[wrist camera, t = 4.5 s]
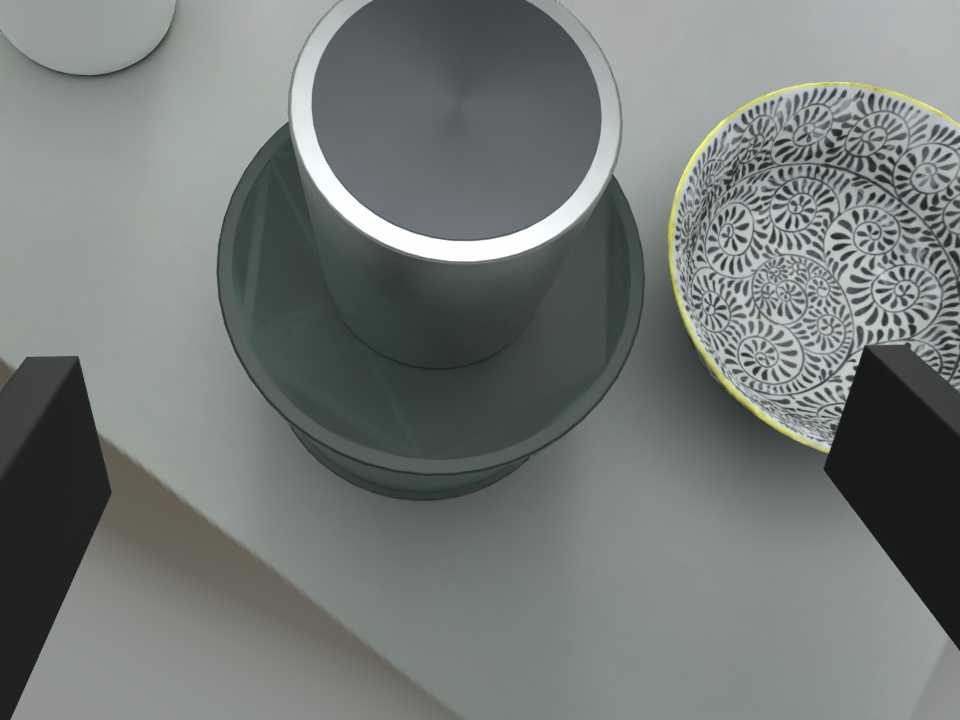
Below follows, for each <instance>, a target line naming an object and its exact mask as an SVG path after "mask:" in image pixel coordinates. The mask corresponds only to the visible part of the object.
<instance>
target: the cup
mask: <svg viewBox="0 0 960 720" xmlns="http://www.w3.org/2000/svg"><path fill="white" fill-rule="evenodd" d="M175 2H176V0H0V30H1V31H2V32H3V33H4V35H5V36H6V37H7V38H8V40H9V41H10V42H11V43H12V44H13V45H14V46H15V47H16V48H17V49H18V50H19V51H21V52H22V53H23V54H24V55H26V56H27V57H29V58H30V59H32V60H33V61H35V62H37V63H39V64H41V65H43V66H45V67H48V68H50V69H53V70H56V71H59V72H64V73H69V74H76V75H98V74H105V73H111V72H114V71H118V70H121V69H123V68H126V67H128V66H130V65H132V64H134V63H136V62H138V61H139V60H141V59H142V58H144V57H145V56H147V55H148V54H149V53H150V52H151V51H152V50H153V49H154V48H155V47H156V46H157V45H158V44H159V43H160V41H161V40H162V39H163V37H164V36H165V34H166V33H167V31H168V29H169V27H170V24H171V21H172V19H173V14H174V10H175Z"/></svg>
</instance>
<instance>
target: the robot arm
mask: <svg viewBox="0 0 960 720" xmlns="http://www.w3.org/2000/svg"><path fill="white" fill-rule="evenodd" d="M824 471H825V472H826V474H827V475H828V476H829V478H830V479H831V480H832V482H833V483H834V484H835V486H836V487H837V488H838V490H839V491H840V492H841V494H842V495H843V496H844V497H845V499H846V500H847V501H848V503H849V504H850V505H851V507H852V508H853V509H854V511H855V512H856V513H857V515H858V516H859V517H860V519H861V520H862V521H863V523H864V524H865V525H866V527H867V528H868V529H869V531H870V532H871V533H872V535H873V536H874V537H875V539H876V540H877V541H878V543H879V544H880V545H881V547H882V548H883V549H884V551H885V552H886V553H887V555H888V556H889V557H890V559H891V560H892V561H893V563H894V564H895V565H896V567H897V568H898V569H899V571H900V572H901V573H902V575H903V576H904V577H905V579H906V580H907V581H908V583H909V584H910V585H911V586H912V588H913V589H914V590H915V592H916V593H917V594H918V596H919V597H920V598H921V600H922V601H923V602H924V604H925V605H926V606H927V608H928V609H929V610H930V612H931V613H932V614H933V616H934V617H935V618H936V620H937V621H938V622H939V624H940V625H941V626H942V628H943V629H944V630H945V632H946V633H947V634H948V636H949V637H950V638H951V640H952V641H953V642H954V644H955V645H956V646H957V648H958V649H959V650H960V392H959V391H958V390H957V389H955V388H954V387H953V386H952V385H951V384H950V383H949V382H948V381H946V380H945V379H944V378H943V377H942V376H941V375H940V374H938V373H937V372H936V371H935V370H934V369H933V368H932V367H931V366H929V365H928V364H927V363H926V362H925V361H924V360H923V359H921V358H920V357H919V356H918V355H917V354H916V353H915V352H913V351H912V350H911V349H910V348H909V347H908V346H907V345H906V344H904V345H865V346H864V349H863V352H862V355H861V358H860V361H859V364H858V367H857V370H856V373H855V376H854V379H853V382H852V385H851V388H850V391H849V394H848V397H847V400H846V403H845V406H844V409H843V412H842V415H841V418H840V421H839V424H838V427H837V430H836V433H835V436H834V439H833V442H832V445H831V448H830V451H829V454H828V457H827V460H826V463H825V467H824ZM110 495H111V488H110V484H109V480H108V475H107V471H106V467H105V463H104V459H103V455H102V452H101V447H100V443H99V439H98V435H97V430H96V426H95V422H94V418H93V414H92V410H91V406H90V402H89V398H88V394H87V390H86V386H85V382H84V377H83V373H82V369H81V365H80V361H79V357H78V356H58V357H26V359H25V360H24V361H23V363H22V364H21V365H20V366H19V368H18V369H17V370H16V372H15V373H14V374H13V376H12V377H11V378H10V380H9V381H8V382H7V384H6V385H5V386H4V388H3V389H2V390H1V392H0V720H10V719H11V717H12V715H13V713H14V710H15V708H16V706H17V704H18V702H19V699H20V697H21V695H22V693H23V690H24V688H25V686H26V684H27V681H28V679H29V677H30V674H31V672H32V670H33V668H34V666H35V663H36V661H37V659H38V657H39V654H40V652H41V650H42V648H43V645H44V643H45V641H46V639H47V636H48V634H49V632H50V630H51V628H52V625H53V623H54V621H55V618H56V616H57V614H58V612H59V610H60V607H61V605H62V603H63V600H64V598H65V596H66V594H67V592H68V590H69V587H70V585H71V583H72V581H73V578H74V576H75V573H76V571H77V569H78V567H79V565H80V563H81V560H82V558H83V556H84V554H85V551H86V549H87V547H88V545H89V542H90V540H91V538H92V536H93V533H94V531H95V529H96V527H97V525H98V522H99V520H100V518H101V515H102V513H103V511H104V509H105V507H106V504H107V502H108V500H109V497H110Z"/></svg>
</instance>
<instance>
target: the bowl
mask: <svg viewBox="0 0 960 720" xmlns="http://www.w3.org/2000/svg"><path fill="white" fill-rule="evenodd" d="M668 262H669V271H670V277H671V282H672V287H673V291H674V295H675V299H676V302H677V306H678V309H679V311H680V314H681V318H682V322H683V324H684V327H685V330H686V333H687V335H688V338H689V340H690V342H691V344H692V346H693V348H694V350H695V351H696V353H697V355H698V357H699V358H700V360H701V361H702V363H703V365H704V366H705V367H706V369H707V370H708V371H709V373H710V374H711V375H712V376H713V378H714V379H715V380H716V381H717V383H718V384H719V385H720V386H721V387H722V388H723V389H724V390H725V391H726V392H727V393H728V394H730V395H731V396H732V397H733V398H734V399H735V400H736V401H737V402H738V403H740V404H741V405H742V406H744V407H745V408H746V409H748V410H749V411H751V412H752V413H753V414H754V415H756V416H757V417H758V418H760V419H761V420H762V421H764V422H765V423H767V424H768V425H770V426H771V427H772V428H774V429H775V430H777V431H779V432H781V433H782V434H784V435H786V436H788V437H789V438H791V439H793V440H795V441H797V442H799V443H802V444H804V445H807V446H809V447H811V448H814V449H816V450H819V451H822V452H825V453H828V454H829V451H830V448H831V445H832V442H833V439H834V436H835V433H836V430H837V427H838V424H839V421H840V418H841V415H842V412H843V409H844V406H845V403H846V400H847V397H848V394H849V391H850V388H851V385H852V382H853V379H854V376H855V373H856V370H857V367H858V364H859V361H860V358H861V355H862V352H863V349H864V346H865V345H904V344H906V345H907V346H908V347H909V348H910V349H911V350H912V351H913V352H915V353H916V354H917V355H918V356H919V357H920V358H921V359H923V360H924V361H925V362H926V363H927V364H928V365H929V366H931V367H932V368H933V369H934V370H935V371H936V372H937V373H938V374H940V375H941V376H942V377H943V378H944V379H945V380H946V381H948V382H949V383H950V384H951V385H952V386H953V387H954V388H955V389H957V390H958V391H959V392H960V124H958V123H957V122H955V121H954V120H952V119H951V118H950V117H948V116H947V115H945V114H943V113H942V112H940V111H938V110H936V109H935V108H933V107H930V106H928V105H926V104H924V103H922V102H920V101H918V100H915V99H913V98H910V97H908V96H905V95H903V94H900V93H897V92H894V91H891V90H887V89H884V88H880V87H875V86H870V85H865V84H857V83H847V82H831V81H830V82H822V83H809V84H801V85H797V86H792V87H787V88H784V89H781V90H778V91H774V92H772V93H769V94H766V95H764V96H761V97H759V98H757V99H755V100H753V101H751V102H749V103H747V104H746V105H744V106H742V107H741V108H739V109H738V110H736V111H735V112H733V113H732V114H731V115H729V116H728V117H727V118H725V119H724V120H723V121H722V122H721V123H720V124H719V125H717V126H716V127H715V129H714V130H713V131H712V132H711V133H710V134H709V135H708V136H707V137H706V138H705V140H704V141H703V142H702V143H701V145H700V146H699V147H698V149H697V150H696V152H695V153H694V154H693V156H692V157H691V159H690V161H689V163H688V165H687V166H686V168H685V170H684V172H683V175H682V177H681V179H680V182H679V184H678V187H677V190H676V193H675V196H674V199H673V203H672V208H671V212H670V219H669V227H668Z"/></svg>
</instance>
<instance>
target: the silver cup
mask: <svg viewBox="0 0 960 720" xmlns="http://www.w3.org/2000/svg"><path fill="white" fill-rule="evenodd" d="M288 119H289V128H290V134H291V139H292V143H293V147H294V151H295V156H296V160H297V164H298V168H299V172H300V177H301V181H302V185H303V189H304V193H305V198H306V202H307V206H308V210H309V215H310V219H311V223H312V227H313V231H314V236H315V240H316V244H317V248H318V252H319V257H320V261H321V265H322V269H323V273H324V278H325V282H326V285H327V289H328V293H329V295H330V298H331V300H332V302H333V305H334V307H335V309H336V310H337V312H338V314H339V315H340V317H341V319H342V320H343V321H344V322H345V324H346V325H347V326H348V328H349V329H350V330H351V331H352V332H353V333H354V334H355V335H356V336H357V337H358V338H359V339H360V340H361V341H363V342H364V343H365V344H367V345H368V346H369V347H371V348H372V349H373V350H375V351H377V352H379V353H381V354H382V355H384V356H386V357H388V358H391V359H393V360H396V361H398V362H401V363H404V364H408V365H412V366H416V367H424V368H453V367H461V366H465V365H469V364H472V363H476V362H478V361H481V360H483V359H486V358H488V357H490V356H492V355H494V354H495V353H497V352H499V351H501V350H502V349H504V348H505V347H506V346H508V345H509V344H510V343H511V342H513V341H514V340H515V339H516V338H517V337H518V336H519V335H520V334H521V333H522V332H523V331H524V329H525V328H526V327H527V325H528V324H529V323H530V321H531V320H532V318H533V317H534V315H535V313H536V311H537V310H538V308H539V306H540V304H541V302H542V301H543V299H544V297H545V295H546V294H547V292H548V290H549V288H550V286H551V285H552V283H553V281H554V279H555V278H556V276H557V274H558V272H559V271H560V269H561V267H562V265H563V263H564V262H565V260H566V258H567V256H568V255H569V253H570V251H571V249H572V247H573V246H574V244H575V242H576V240H577V239H578V237H579V235H580V233H581V231H582V230H583V228H584V226H585V224H586V223H587V221H588V219H589V217H590V216H591V214H592V212H593V210H594V208H595V207H596V205H597V203H598V201H599V200H600V198H601V196H602V194H603V192H604V191H605V189H606V187H607V185H608V183H609V182H610V180H611V177H612V174H613V172H614V169H615V166H616V164H617V161H618V156H619V151H620V147H621V141H622V126H623V122H622V109H621V102H620V97H619V92H618V88H617V84H616V81H615V78H614V76H613V73H612V70H611V67H610V65H609V63H608V61H607V59H606V57H605V56H604V54H603V52H602V50H601V48H600V47H599V45H598V44H597V42H596V41H595V39H594V38H593V37H592V35H591V34H590V32H589V31H588V30H587V29H586V28H585V27H584V26H583V25H582V23H581V22H580V21H579V20H578V19H577V18H576V17H575V16H574V15H573V14H572V13H570V12H569V11H568V10H567V9H566V8H565V7H564V6H563V5H561V4H560V3H559V2H557V1H556V0H341V1H339V2H338V3H337V4H335V5H334V6H333V7H332V8H331V9H330V10H329V11H328V12H327V13H326V14H325V15H324V16H323V17H322V18H321V19H320V21H319V22H318V23H317V25H316V26H315V28H314V29H313V30H312V32H311V33H310V34H309V36H308V38H307V40H306V41H305V43H304V45H303V47H302V49H301V51H300V53H299V55H298V58H297V61H296V63H295V66H294V69H293V72H292V76H291V82H290V87H289V92H288Z"/></svg>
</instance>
